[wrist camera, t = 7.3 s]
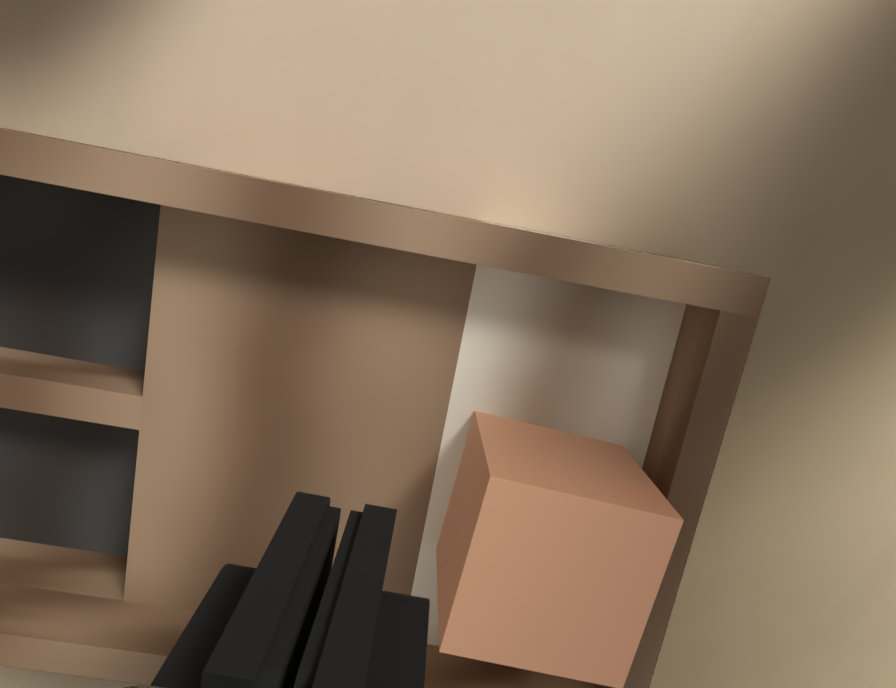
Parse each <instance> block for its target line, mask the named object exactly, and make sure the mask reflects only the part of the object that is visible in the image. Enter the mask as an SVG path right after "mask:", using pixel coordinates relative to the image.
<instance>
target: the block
mask: <svg viewBox="0 0 896 688" xmlns="http://www.w3.org/2000/svg"><path fill="white" fill-rule="evenodd" d="M683 521H684V520H683V519H682V517H681V516H680V515H679V514H678V512H677V511H676V510H675V509H674V508H673V506H672V505H671V504H670V503H669V501H668V500H667V499H666V498H665V497H664V495H663V494H662V493H661V492H660V490H659V489H658V488H657V487H656V486H655V484H654V483H653V482H652V481H651V480H650V478H649V477H648V476H647V475H646V473H645V472H644V471H643V470H642V469H641V467H640V466H639V465H638V464H637V462H636V461H635V460H634V459H633V458H632V456H631V455H630V454H629V453H628V451H627V450H626V449H625V448H624V447H623V446H622V445H618V444H613V443H609V442H605V441H601V440H596V439H592V438H588V437H584V436H580V435H575V434H571V433H567V432H563V431H559V430H554V429H550V428H546V427H542V426H537V425H533V424H529V423H525V422H521V421H516V420H512V419H508V418H504V417H499V416H495V415H491V414H487V413H483V412H478V411H475V412H474V415H473V419H472V422H471V426H470V430H469V433H468V437H467V440H466V444H465V448H464V451H463V455H462V458H461V462H460V465H459V469H458V473H457V476H456V480H455V483H454V487H453V490H452V494H451V498H450V501H449V505H448V508H447V512H446V516H445V519H444V523H443V526H442V530H441V533H440V537H439V541H438V544H437V548H436V562H437V595H438V628H439V652H441V653H446V654H451V655H456V656H461V657H466V658H471V659H476V660H481V661H486V662H491V663H496V664H501V665H506V666H511V667H516V668H521V669H525V670H530V671H535V672H540V673H545V674H550V675H555V676H560V677H565V678H570V679H575V680H580V681H585V682H590V683H595V684H600V685H605V686H610V687H615V688H623V686H624V684H625V681H626V678H627V675H628V673H629V670H630V667H631V664H632V662H633V659H634V656H635V653H636V651H637V648H638V645H639V642H640V640H641V637H642V634H643V631H644V629H645V626H646V623H647V620H648V618H649V615H650V612H651V609H652V607H653V604H654V601H655V598H656V596H657V593H658V590H659V587H660V585H661V582H662V579H663V576H664V574H665V571H666V568H667V565H668V563H669V560H670V557H671V554H672V552H673V549H674V546H675V543H676V541H677V538H678V535H679V532H680V530H681V527H682V524H683Z"/></svg>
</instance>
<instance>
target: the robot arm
mask: <svg viewBox="0 0 896 688" xmlns="http://www.w3.org/2000/svg"><path fill="white" fill-rule="evenodd" d="M340 514H341V508H337V507H331V506H330V497H326V496H320V495H315V494H309V493H304V492H296V494H295V496H294V498H293V500H292V501H291V503H290V505H289V507H288V509H287V511H286V513H285V515H284V517H283V519H282V521H281V522H280V524H279V526H278V528H277V530H276V532H275V534H274V536H273V538H272V540H271V542H270V543H269V545H268V547H267V549H266V551H265V553H264V555H263V557H262V559H261V561H260V563H259V565H258V566H257V568H252V567H246V566H240V565H235V564H229V563H228V564H226V565H224V567H223V568H222V569H221V570H220V572H219V574H218V575H217V577H216V579H215V580H214V582H213V583H212V585H211V587H210V588H209V590H208V592H207V593H206V595H205V596H204V598H203V600H202V601H201V603H200V605H199V606H198V608H197V609H196V611H195V613H194V614H193V616H192V618H191V619H190V621H189V623H188V624H187V626H186V627H185V629H184V631H183V632H182V634H181V636H180V637H179V639H178V640H177V642H176V644H175V645H174V647H173V649H172V650H171V652H170V654H169V655H168V657H167V658H166V660H165V662H164V663H163V665H162V667H161V668H160V670H159V671H158V673H157V675H156V676H155V678H154V680H153V681H152V683H151V685H144V686H131V687H125V688H424V682H425V667H426V652H427V637H428V623H429V608H430V600H429V599H428V598H422V597H417V596H411V595H405V594H400V593H394V592H388V591H382V589H383V584H384V578H385V573H386V567H387V562H388V557H389V551H390V546H391V541H392V535H393V530H394V525H395V519H396V514H397V509H393V508H387V507H381V506H376V505H370V504H365V506H364V510H363V512H359V511H353V510H351V511H350V514H349V517H348V520H347V523H346V526H345V529H344V532H343V535H342V538H341V541H340V544H339V547H338V550H337V553H336V556H335V560H334V563H333V557H334V551H335V545H336V539H337V533H338V527H339V521H340ZM332 563H333V566H332Z"/></svg>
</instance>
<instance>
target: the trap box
mask: <svg viewBox="0 0 896 688" xmlns="http://www.w3.org/2000/svg"><path fill="white" fill-rule="evenodd" d="M769 281H770V278H766V277H761V276H757V275H752V274H747V273H742V272H738V271H733V270H728V269H723V268H719V267H714V266H709V265H705V264H700V263H695V262H690V261H685V260H680V259H675V258H669V257H664V256H659V255H654V254H649V253H644V252H639V251H633V250H628V249H623V248H618V247H613V246H608V245H603V244H597V243H592V242H587V241H582V240H577V239H572V238H566V237H561V236H556V235H551V234H546V233H541V232H536V231H530V230H525V229H520V228H515V227H510V226H505V225H500V224H494V223H489V222H484V221H479V220H474V219H469V218H463V217H458V216H453V215H448V214H443V213H438V212H433V211H427V210H422V209H417V208H412V207H407V206H402V205H397V204H391V203H386V202H381V201H376V200H371V199H366V198H360V197H355V196H350V195H345V194H340V193H335V192H330V191H324V190H319V189H314V188H309V187H304V186H299V185H294V184H288V183H283V182H278V181H273V180H268V179H263V178H258V177H252V176H247V175H242V174H237V173H232V172H227V171H221V170H216V169H211V168H206V167H201V166H196V165H191V164H185V163H180V162H175V161H170V160H165V159H160V158H155V157H149V156H144V155H139V154H134V153H129V152H124V151H118V150H113V149H108V148H103V147H98V146H93V145H88V144H82V143H77V142H72V141H67V140H62V139H57V138H52V137H46V136H41V135H36V134H31V133H26V132H21V131H15V130H10V129H5V128H0V666H7V667H15V668H22V669H29V670H37V671H44V672H52V673H59V674H67V675H74V676H82V677H89V678H96V679H104V680H111V681H119V682H126V683H134V684H141V685H151V683H152V681H153V680H154V678H155V676H156V675H157V673H158V671H159V670H160V668H161V667H162V665H163V663H164V662H165V660H166V658H167V657H168V655H169V654H170V652H171V650H172V649H173V647H174V645H175V644H176V642H177V640H178V639H179V637H180V636H181V634H182V632H183V631H184V629H185V627H186V626H187V624H188V623H189V621H190V619H191V618H192V616H193V614H194V613H195V611H196V609H197V608H198V606H199V605H200V603H201V601H202V600H203V598H204V596H205V595H206V593H207V592H208V590H209V588H210V587H211V585H212V583H213V582H214V580H215V579H216V577H217V575H218V574H219V572H220V570H221V569H222V568H223V567H224V565H226V564H228V563H229V564H235V565H240V566H246V567H252V568H257V566H258V565H259V563H260V561H261V559H262V557H263V555H264V553H265V551H266V549H267V547H268V545H269V543H270V542H271V540H272V538H273V536H274V534H275V532H276V530H277V528H278V526H279V524H280V522H281V521H282V519H283V517H284V515H285V513H286V511H287V509H288V507H289V505H290V503H291V501H292V500H293V498H294V496H295V494H296V492H304V493H309V494H315V495H320V496H326V497H330V506H331V507H337V508H341V514H340V521H339V527H338V533H337V539H336V545H335V551H334V557H333V563H334V560H335V556H336V553H337V550H338V547H339V544H340V541H341V538H342V535H343V532H344V529H345V526H346V523H347V520H348V517H349V514H350V511H351V510H353V511H359V512H363V510H364V506H365V504H370V505H376V506H381V507H387V508H393V509H397V514H396V519H395V525H394V530H393V535H392V541H391V546H390V551H389V557H388V562H387V567H386V573H385V578H384V584H383V589H382V591H388V592H394V593H400V594H405V595H411V596H417V597H422V598H428V599H429V600H430V608H429V623H428V637H427V652H426V667H425V682H424V688H615V687H610V686H605V685H600V684H595V683H590V682H585V681H580V680H575V679H570V678H565V677H560V676H555V675H550V674H545V673H540V672H535V671H530V670H525V669H521V668H516V667H511V666H506V665H501V664H496V663H491V662H486V661H481V660H476V659H471V658H466V657H461V656H456V655H451V654H446V653H441V652H439V628H438V595H437V562H436V548H437V544H438V541H439V537H440V533H441V530H442V526H443V523H444V519H445V516H446V512H447V508H448V505H449V501H450V498H451V494H452V490H453V487H454V483H455V480H456V476H457V473H458V469H459V465H460V462H461V458H462V455H463V451H464V448H465V444H466V440H467V437H468V433H469V430H470V426H471V422H472V419H473V415H474V412H475V411H478V412H483V413H487V414H491V415H495V416H499V417H504V418H508V419H512V420H516V421H521V422H525V423H529V424H533V425H537V426H542V427H546V428H550V429H554V430H559V431H563V432H567V433H571V434H575V435H580V436H584V437H588V438H592V439H596V440H601V441H605V442H609V443H613V444H618V445H622V446H623V447H624V448H625V449H626V450H627V451H628V453H629V454H630V455H631V456H632V458H633V459H634V460H635V461H636V462H637V464H638V465H639V466H640V467H641V469H642V470H643V471H644V472H645V473H646V475H647V476H648V477H649V478H650V480H651V481H652V482H653V483H654V484H655V486H656V487H657V488H658V489H659V490H660V492H661V493H662V494H663V495H664V497H665V498H666V499H667V500H668V501H669V503H670V504H671V505H672V506H673V508H674V509H675V510H676V511H677V512H678V514H679V515H680V516H681V517H682V519H683V520H684V521H683V524H682V527H681V530H680V532H679V535H678V538H677V541H676V543H675V546H674V549H673V552H672V554H671V557H670V560H669V563H668V565H667V568H666V571H665V574H664V576H663V579H662V582H661V585H660V587H659V590H658V593H657V596H656V598H655V601H654V604H653V607H652V609H651V612H650V615H649V618H648V620H647V623H646V626H645V629H644V631H643V634H642V637H641V640H640V642H639V645H638V648H637V651H636V653H635V656H634V659H633V662H632V664H631V667H630V670H629V673H628V675H627V678H626V681H625V684H624V686H623V688H649V686H650V683H651V679H652V676H653V673H654V669H655V666H656V662H657V659H658V656H659V652H660V649H661V646H662V642H663V639H664V635H665V632H666V629H667V625H668V622H669V619H670V615H671V612H672V608H673V605H674V602H675V598H676V595H677V592H678V588H679V585H680V581H681V578H682V575H683V571H684V568H685V565H686V561H687V558H688V554H689V551H690V548H691V544H692V541H693V537H694V534H695V531H696V527H697V524H698V521H699V517H700V514H701V510H702V507H703V504H704V500H705V497H706V494H707V490H708V487H709V483H710V480H711V477H712V473H713V470H714V467H715V463H716V460H717V456H718V453H719V450H720V446H721V443H722V440H723V436H724V433H725V429H726V426H727V423H728V419H729V416H730V413H731V409H732V406H733V402H734V399H735V396H736V392H737V389H738V386H739V382H740V379H741V375H742V372H743V369H744V365H745V362H746V359H747V355H748V352H749V348H750V345H751V342H752V338H753V335H754V331H755V328H756V325H757V321H758V318H759V315H760V311H761V308H762V304H763V301H764V298H765V294H766V291H767V288H768V284H769ZM333 563H332V566H333Z"/></svg>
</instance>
